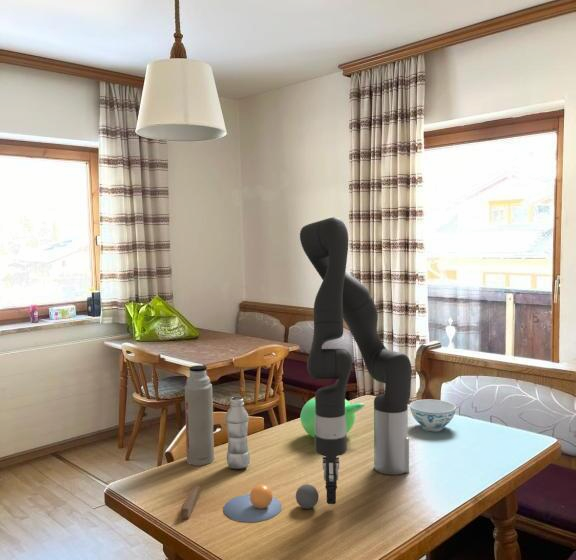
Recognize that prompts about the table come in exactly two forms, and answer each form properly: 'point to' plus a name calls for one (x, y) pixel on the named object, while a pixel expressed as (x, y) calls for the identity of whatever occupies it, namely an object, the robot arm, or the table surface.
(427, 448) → the table surface
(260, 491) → the orange ball
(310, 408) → the green bird toy
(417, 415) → the chinaware
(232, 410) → the plastic bottle
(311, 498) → the charcoal ball
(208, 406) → the thermos bottle
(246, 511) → the blue mark
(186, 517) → the walnut rail
